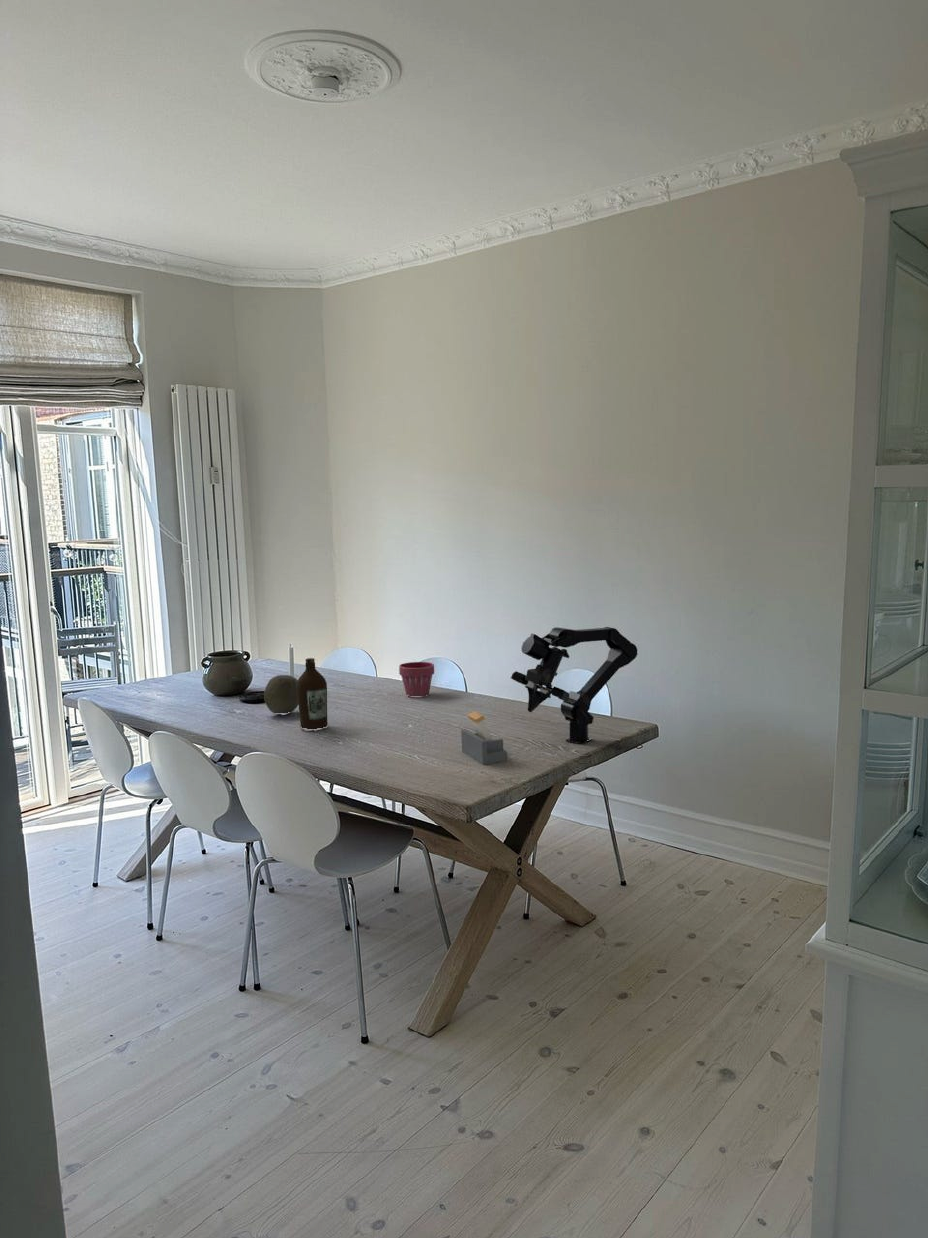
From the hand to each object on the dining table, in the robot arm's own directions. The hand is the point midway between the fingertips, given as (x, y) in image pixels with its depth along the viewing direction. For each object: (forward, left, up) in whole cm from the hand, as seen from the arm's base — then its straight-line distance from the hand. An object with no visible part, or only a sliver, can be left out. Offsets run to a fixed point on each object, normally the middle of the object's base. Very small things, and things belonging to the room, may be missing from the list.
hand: (529, 711), depth 270 cm
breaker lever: (+12, -8, -9) cm, 16 cm away
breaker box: (+13, -9, -12) cm, 20 cm away
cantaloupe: (+7, -107, -12) cm, 108 cm away
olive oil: (+16, -81, -12) cm, 83 cm away
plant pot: (-42, -82, -12) cm, 93 cm away
